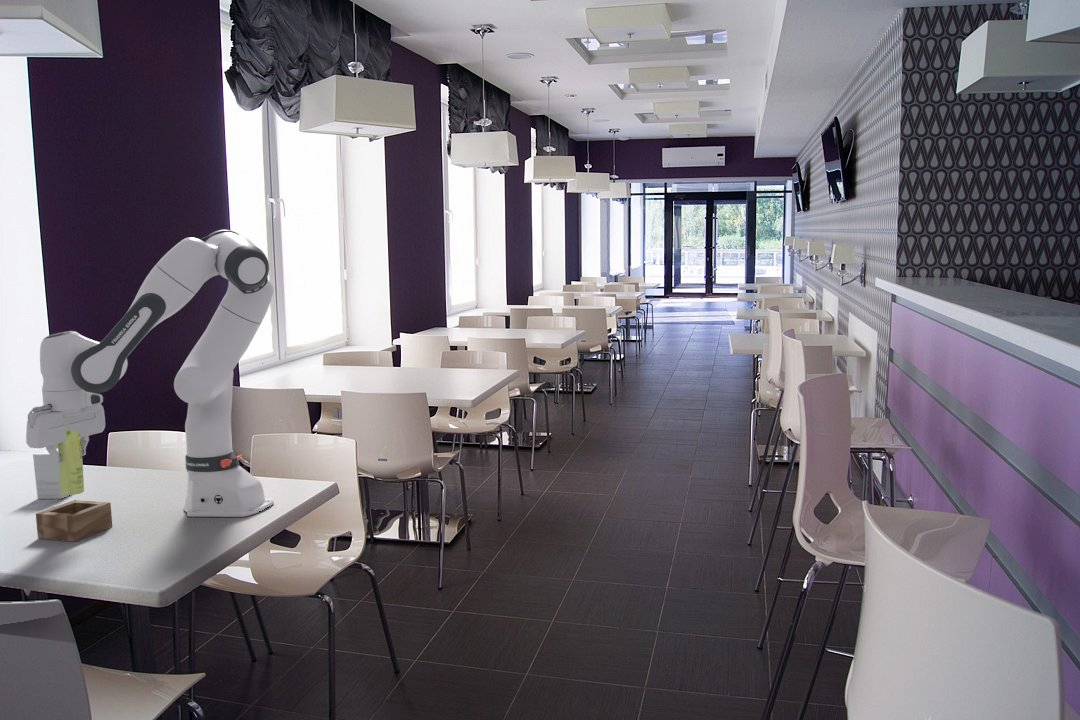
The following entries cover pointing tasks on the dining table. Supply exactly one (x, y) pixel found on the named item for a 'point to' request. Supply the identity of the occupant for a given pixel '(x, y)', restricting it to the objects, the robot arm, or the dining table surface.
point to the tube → (71, 464)
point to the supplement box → (47, 476)
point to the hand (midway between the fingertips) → (69, 458)
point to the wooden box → (74, 520)
